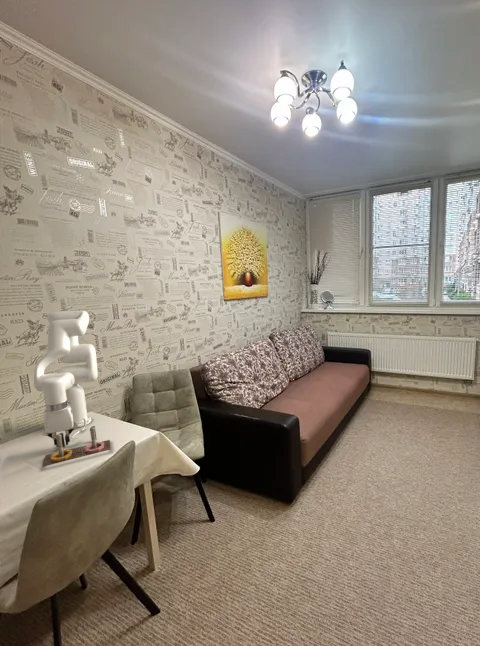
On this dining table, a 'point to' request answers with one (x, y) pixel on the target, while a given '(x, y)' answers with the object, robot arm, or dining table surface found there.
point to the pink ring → (96, 444)
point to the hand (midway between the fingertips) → (62, 444)
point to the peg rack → (76, 449)
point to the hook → (82, 429)
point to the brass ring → (63, 451)
